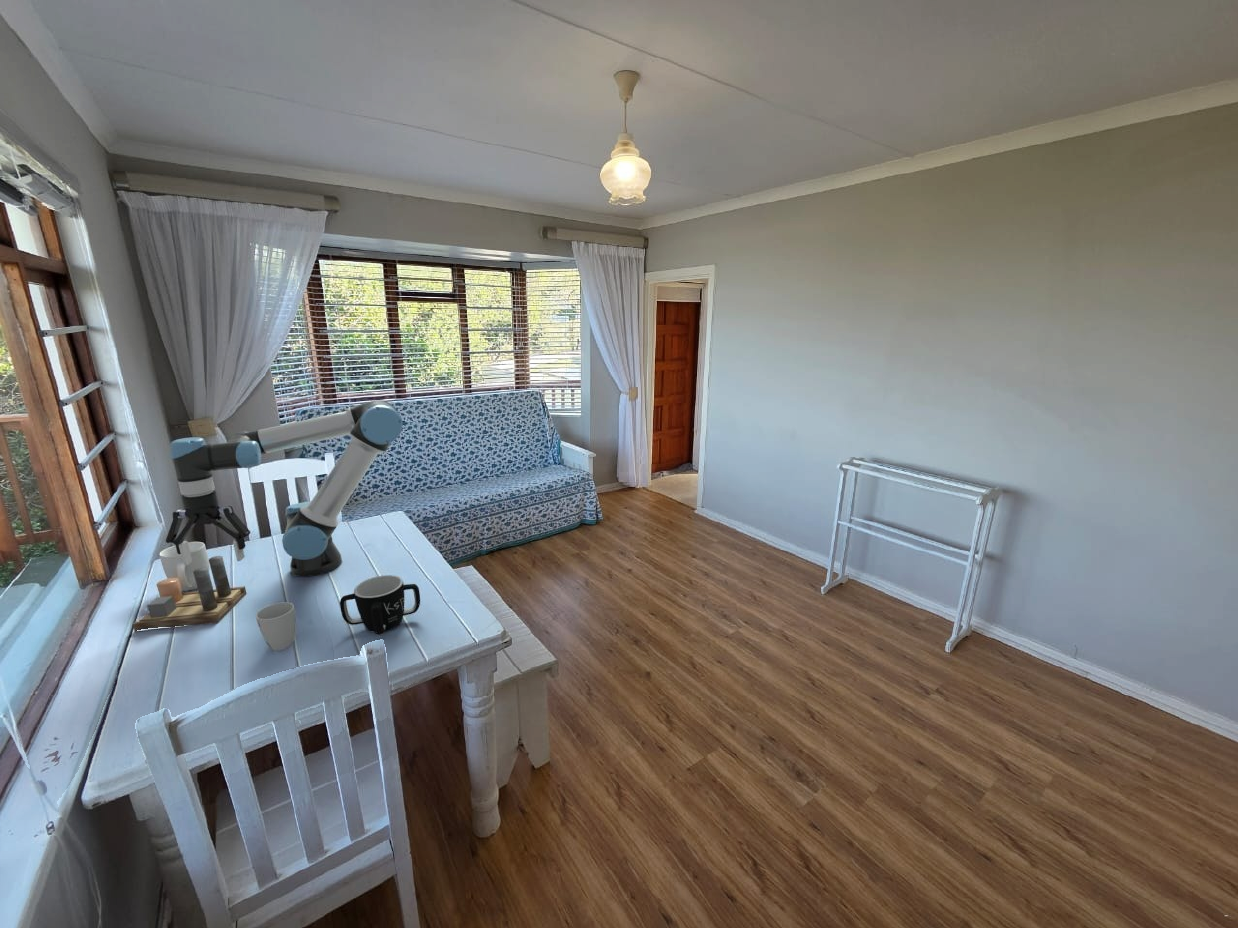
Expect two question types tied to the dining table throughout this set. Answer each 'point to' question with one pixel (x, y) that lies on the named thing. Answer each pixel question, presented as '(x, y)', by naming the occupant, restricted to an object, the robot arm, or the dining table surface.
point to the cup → (277, 625)
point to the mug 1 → (176, 568)
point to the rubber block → (161, 606)
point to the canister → (170, 588)
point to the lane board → (191, 619)
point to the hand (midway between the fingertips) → (214, 561)
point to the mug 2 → (380, 603)
